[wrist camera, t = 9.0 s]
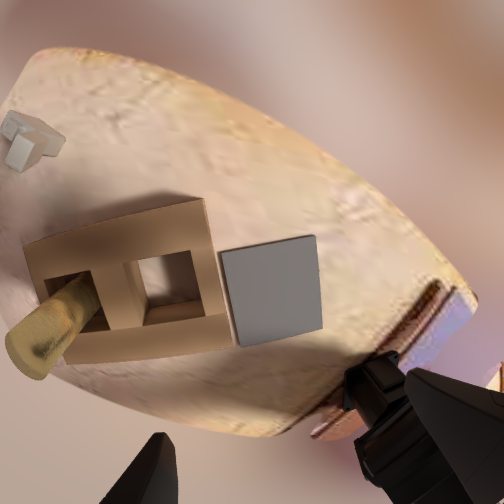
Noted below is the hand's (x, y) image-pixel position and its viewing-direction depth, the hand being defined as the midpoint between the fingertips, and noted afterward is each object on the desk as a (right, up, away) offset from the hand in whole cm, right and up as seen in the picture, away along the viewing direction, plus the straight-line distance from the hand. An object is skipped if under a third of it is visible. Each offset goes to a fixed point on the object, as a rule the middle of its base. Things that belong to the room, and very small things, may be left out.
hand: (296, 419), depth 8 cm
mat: (0, +2, +13) cm, 13 cm away
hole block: (-11, +3, +11) cm, 16 cm away
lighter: (-17, +14, +8) cm, 23 cm away
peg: (-14, +3, +11) cm, 18 cm away
